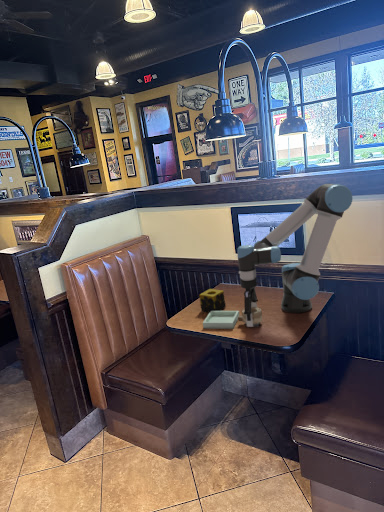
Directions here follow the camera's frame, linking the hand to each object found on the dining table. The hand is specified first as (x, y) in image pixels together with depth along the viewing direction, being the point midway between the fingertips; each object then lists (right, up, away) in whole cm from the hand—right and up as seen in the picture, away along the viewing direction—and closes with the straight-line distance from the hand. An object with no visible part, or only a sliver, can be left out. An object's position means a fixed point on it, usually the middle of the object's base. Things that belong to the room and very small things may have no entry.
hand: (252, 320), depth 181 cm
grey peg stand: (0, -2, 0) cm, 2 cm away
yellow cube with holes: (-17, +1, +26) cm, 31 cm away
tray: (-14, -2, +8) cm, 16 cm away
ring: (-1, 0, 0) cm, 1 cm away
